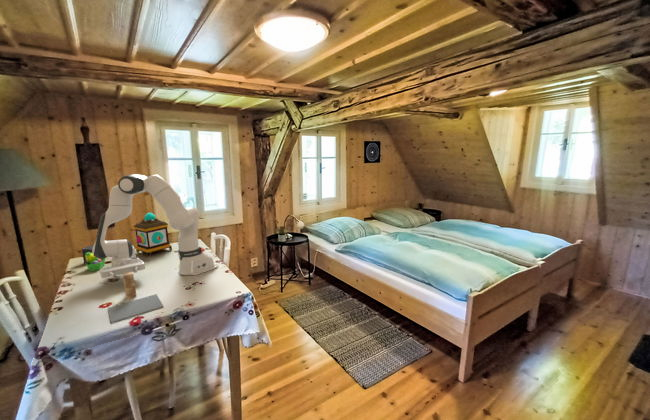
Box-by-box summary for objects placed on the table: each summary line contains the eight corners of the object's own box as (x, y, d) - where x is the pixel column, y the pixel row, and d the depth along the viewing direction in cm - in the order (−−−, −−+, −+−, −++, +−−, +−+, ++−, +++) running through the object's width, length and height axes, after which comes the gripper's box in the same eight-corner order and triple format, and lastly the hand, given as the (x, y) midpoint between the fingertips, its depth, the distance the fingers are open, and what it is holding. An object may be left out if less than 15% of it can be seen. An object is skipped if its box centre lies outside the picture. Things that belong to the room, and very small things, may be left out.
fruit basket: (101, 270, 182) (98, 253, 180) (84, 272, 179) (80, 255, 177) (107, 264, 192) (104, 248, 190) (91, 266, 189) (88, 250, 187)
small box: (91, 264, 193) (88, 249, 192) (83, 263, 195) (80, 248, 193) (106, 258, 204) (103, 244, 202) (98, 258, 205) (95, 244, 203)
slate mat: (156, 295, 147) (156, 294, 147) (163, 307, 135) (163, 306, 135) (108, 308, 135) (108, 307, 135) (111, 323, 123) (111, 322, 123)
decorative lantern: (147, 258, 202) (141, 216, 197) (133, 253, 213) (127, 213, 207) (175, 250, 219) (170, 211, 214) (160, 246, 229) (155, 209, 224)
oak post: (135, 293, 150) (132, 271, 148) (136, 296, 147) (133, 273, 145) (126, 295, 147) (122, 273, 145) (127, 298, 144) (123, 276, 142)
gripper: (98, 265, 158) (99, 272, 148) (141, 256, 171) (146, 263, 161) (100, 276, 159) (101, 284, 149) (143, 267, 172) (147, 274, 162)
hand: (125, 273), depth 155 cm, fingers open, 8 cm apart
